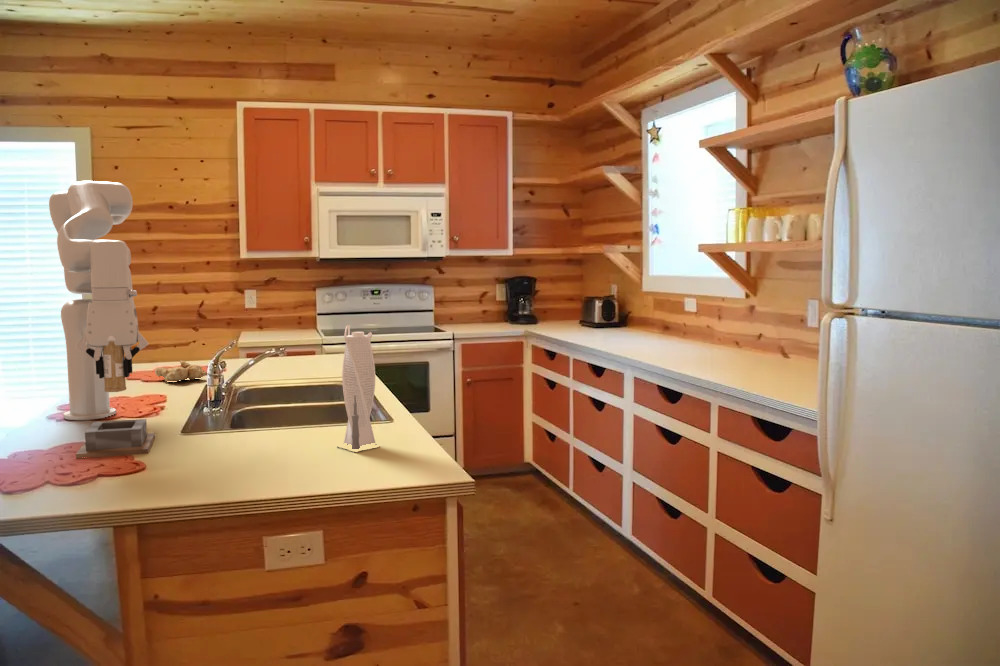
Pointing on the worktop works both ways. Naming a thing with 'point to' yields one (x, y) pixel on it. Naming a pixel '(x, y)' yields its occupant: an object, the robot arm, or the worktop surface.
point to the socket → (116, 439)
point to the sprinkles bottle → (113, 367)
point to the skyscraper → (358, 387)
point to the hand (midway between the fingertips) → (114, 376)
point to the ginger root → (181, 372)
